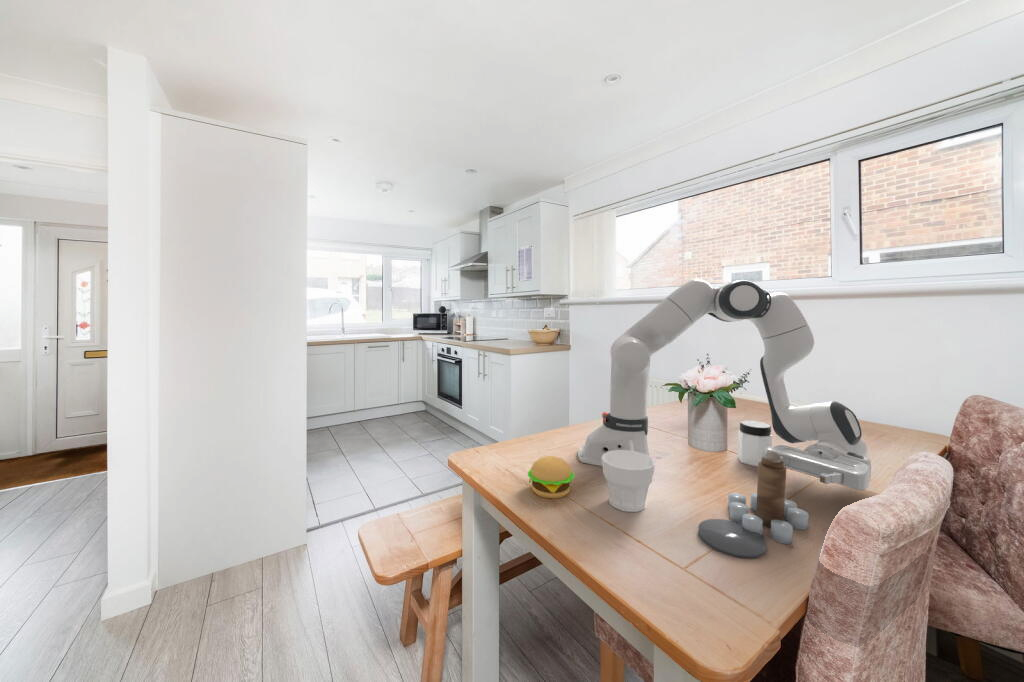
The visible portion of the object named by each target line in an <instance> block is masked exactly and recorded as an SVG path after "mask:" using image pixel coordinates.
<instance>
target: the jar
mask: <svg viewBox="0 0 1024 682" xmlns="http://www.w3.org/2000/svg"><path fill="white" fill-rule="evenodd" d="M737 432H738V433H737V434H738V435H737V437H738V438H737V456H736V457H737V458H738V460H739V461H740V463H742V464H744V465H749V466H752V467H757V468H758V463H759V462H760V461H761V458H762V457H764V455H765V450H766V448H768V447H772V446H773V445H772V443H773V442H772V440H773V435H772V434H771V433H772V425H771V424H769V423H767V422H762V421H758V420H747V419H746V420H741V421H739V428H738V431H737Z"/></svg>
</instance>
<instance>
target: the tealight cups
mask: <svg viewBox="0 0 1024 682" xmlns="http://www.w3.org/2000/svg"><path fill="white" fill-rule="evenodd" d="M727 497H728V499H727V508H728V509H729V519H730V521H734V522H737V523H740V524H742V527H743V528H745V529H746V530H748V531H751V532H756V533H759V534H760V535H761V536H762V537H763V526H762V524H763V520H762V519H761V518H760V517H758V516H756V514H755V515H754V514H751V513H750V512H749V511H750V509H751V510H752V511H754V512H756V506H757V492H752V493H750V499H749V500H750V503H749V506H748V505H747V497H746V495H744V494H742V493H739V492H729V493H728V495H727ZM785 519H786V521H785ZM808 528H809V513H808V512H807V511H805V510H803V509H801V508H798V504H797V503H796V502H794V501H793V500H790V499H786V498H785V504H784V521H782V520H772V521H771V529H770V538H771V539H773V540H774V541H776V542H778V543H781V544H785V545H790V544H793V543H792V542H793V532H794V530H793V529H795V530H796V529H797V530H800V531H806V530H808Z"/></svg>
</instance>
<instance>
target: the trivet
mask: <svg viewBox="0 0 1024 682" xmlns="http://www.w3.org/2000/svg"><path fill="white" fill-rule="evenodd" d="M697 527H698V536H699V538H700V539H701V541H703V543H705V544H706V545H707V546H708V547H710V548H712V549H713V550H715V551H717V552H720V553H721V554H724V555H727V556H731V557H735V558H739V559H758V558H762V557H763V556H764V555H765V554H767V551H768V550H767V549H768V546H767V545H768V544H767V541H766V539H765V538H764V536H763V535H762V536H761V535H760V534H759V533H756V532H751V531H748V530H746V529H745V528H743V527H742V523H737V522H735V521H733V520H731V519H730V520H728V519H723V518H709V519H705V520H703V521H701V522H700V523H699V524H698V526H697Z"/></svg>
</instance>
